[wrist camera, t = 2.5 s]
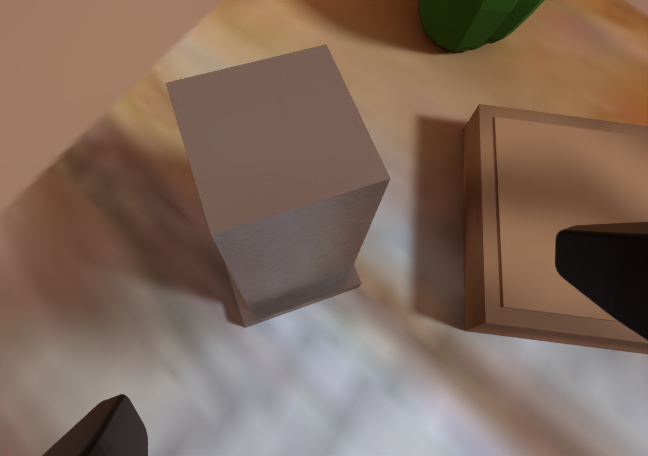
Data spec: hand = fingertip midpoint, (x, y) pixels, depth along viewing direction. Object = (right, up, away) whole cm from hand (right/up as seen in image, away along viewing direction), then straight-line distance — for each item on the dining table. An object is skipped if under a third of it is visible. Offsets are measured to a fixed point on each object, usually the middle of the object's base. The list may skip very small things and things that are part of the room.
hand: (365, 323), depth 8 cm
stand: (+13, +1, +15) cm, 20 cm away
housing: (-3, +1, +14) cm, 14 cm away
